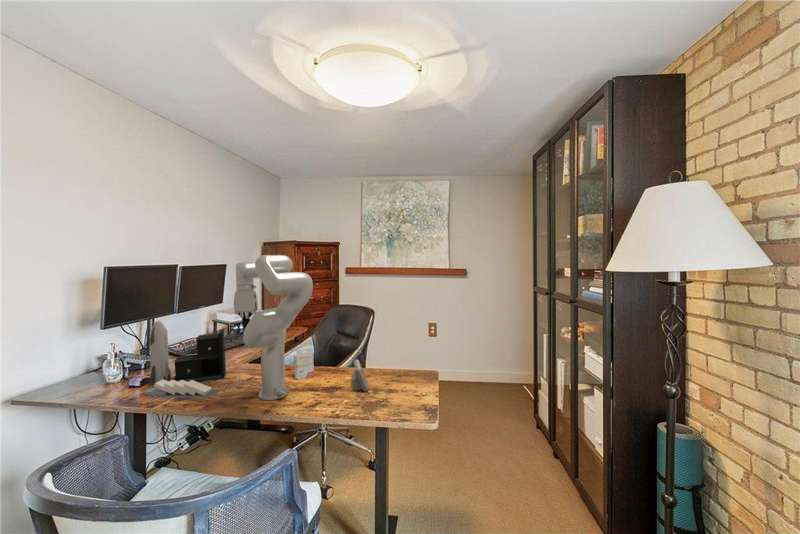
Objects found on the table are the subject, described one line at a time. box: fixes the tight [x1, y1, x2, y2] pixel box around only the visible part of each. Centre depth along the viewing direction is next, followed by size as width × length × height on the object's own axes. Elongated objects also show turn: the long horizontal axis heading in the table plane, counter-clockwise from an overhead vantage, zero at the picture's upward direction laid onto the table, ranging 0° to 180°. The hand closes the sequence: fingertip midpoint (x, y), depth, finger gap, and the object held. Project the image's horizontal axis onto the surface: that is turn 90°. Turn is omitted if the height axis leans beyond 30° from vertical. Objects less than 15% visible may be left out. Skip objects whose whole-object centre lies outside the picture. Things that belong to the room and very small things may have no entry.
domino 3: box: [164, 379, 188, 395], centre depth 157 cm, size 2×5×10 cm
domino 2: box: [153, 379, 177, 395], centre depth 157 cm, size 2×5×10 cm
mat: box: [157, 388, 223, 399], centre depth 157 cm, size 23×10×1 cm, turn 86°
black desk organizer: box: [172, 328, 227, 383], centre depth 175 cm, size 23×11×24 cm, turn 112°
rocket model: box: [148, 320, 172, 387], centre depth 173 cm, size 14×7×30 cm, turn 177°
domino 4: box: [173, 380, 197, 395], centre depth 157 cm, size 2×5×10 cm
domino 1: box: [143, 387, 168, 396], centre depth 158 cm, size 2×5×10 cm
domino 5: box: [183, 380, 213, 395], centre depth 156 cm, size 2×5×10 cm
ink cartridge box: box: [293, 347, 315, 381], centre depth 177 cm, size 9×5×15 cm, turn 120°
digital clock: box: [351, 359, 370, 392], centre depth 163 cm, size 16×9×11 cm, turn 179°
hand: (246, 326), depth 169 cm, fingers closed
